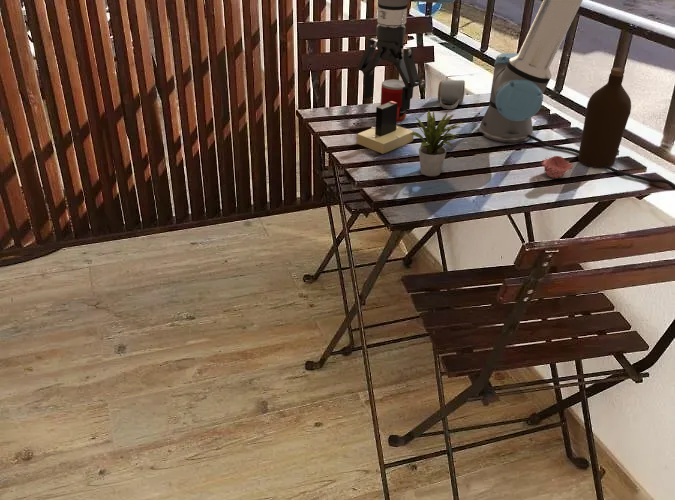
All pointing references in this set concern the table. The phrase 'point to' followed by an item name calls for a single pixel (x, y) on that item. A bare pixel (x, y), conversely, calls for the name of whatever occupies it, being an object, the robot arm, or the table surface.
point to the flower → (556, 166)
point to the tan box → (384, 139)
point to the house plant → (434, 144)
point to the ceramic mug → (451, 93)
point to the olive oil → (605, 122)
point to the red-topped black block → (386, 118)
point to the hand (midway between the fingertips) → (386, 103)
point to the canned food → (393, 95)
